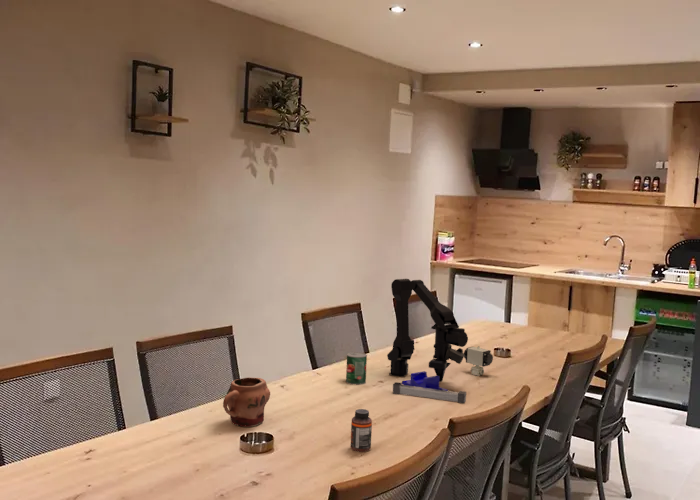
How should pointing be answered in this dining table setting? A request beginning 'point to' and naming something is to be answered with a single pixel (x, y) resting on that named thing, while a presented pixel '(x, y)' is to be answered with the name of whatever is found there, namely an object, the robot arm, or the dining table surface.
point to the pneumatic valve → (478, 359)
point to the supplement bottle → (361, 431)
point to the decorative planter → (247, 401)
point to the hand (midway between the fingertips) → (440, 381)
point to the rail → (429, 393)
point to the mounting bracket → (423, 381)
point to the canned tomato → (356, 368)
